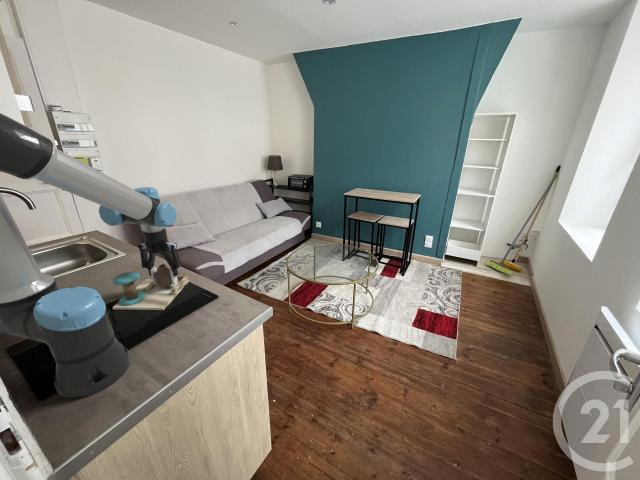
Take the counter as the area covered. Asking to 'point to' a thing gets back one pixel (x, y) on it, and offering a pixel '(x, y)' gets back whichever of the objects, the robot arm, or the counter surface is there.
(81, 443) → the counter surface
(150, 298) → the jig board
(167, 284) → the vase
